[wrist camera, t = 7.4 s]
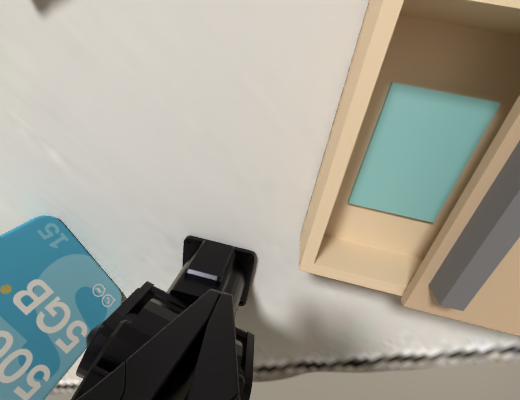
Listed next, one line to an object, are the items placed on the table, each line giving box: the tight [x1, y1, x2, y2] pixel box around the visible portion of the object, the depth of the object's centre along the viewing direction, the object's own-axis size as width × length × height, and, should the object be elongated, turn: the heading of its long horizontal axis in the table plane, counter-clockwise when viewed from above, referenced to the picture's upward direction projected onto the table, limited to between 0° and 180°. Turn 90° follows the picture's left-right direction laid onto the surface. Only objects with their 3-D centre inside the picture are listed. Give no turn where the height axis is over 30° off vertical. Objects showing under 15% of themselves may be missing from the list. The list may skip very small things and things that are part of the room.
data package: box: [0, 216, 122, 400], centre depth 22 cm, size 12×4×12 cm, turn 27°
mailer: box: [299, 0, 520, 296], centre depth 15 cm, size 16×13×4 cm
